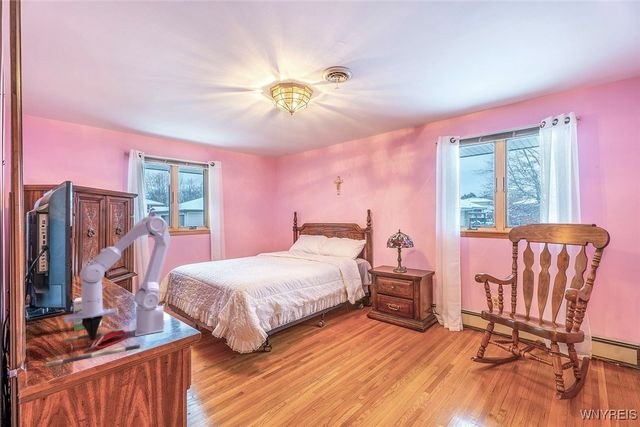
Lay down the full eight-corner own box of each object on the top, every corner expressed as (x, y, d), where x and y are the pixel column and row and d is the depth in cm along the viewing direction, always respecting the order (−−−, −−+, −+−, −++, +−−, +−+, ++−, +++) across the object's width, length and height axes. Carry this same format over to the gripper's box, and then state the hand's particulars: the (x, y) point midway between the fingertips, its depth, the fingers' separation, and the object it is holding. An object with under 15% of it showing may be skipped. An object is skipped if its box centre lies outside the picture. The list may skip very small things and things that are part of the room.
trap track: (141, 327, 119) (141, 325, 119) (139, 347, 100) (139, 345, 100) (63, 340, 107) (63, 338, 107) (45, 366, 89) (45, 364, 89)
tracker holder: (90, 338, 107) (122, 325, 112) (94, 350, 106) (126, 336, 112) (87, 342, 97) (123, 327, 103) (91, 355, 97) (127, 339, 103)
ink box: (73, 331, 116) (72, 301, 116) (75, 327, 120) (75, 298, 120) (100, 326, 120) (100, 297, 120) (101, 322, 125) (101, 294, 125)
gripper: (118, 293, 110) (119, 330, 110) (68, 300, 103) (68, 339, 103) (116, 298, 103) (117, 337, 103) (62, 305, 96) (63, 347, 96)
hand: (92, 339), depth 103 cm, fingers closed
